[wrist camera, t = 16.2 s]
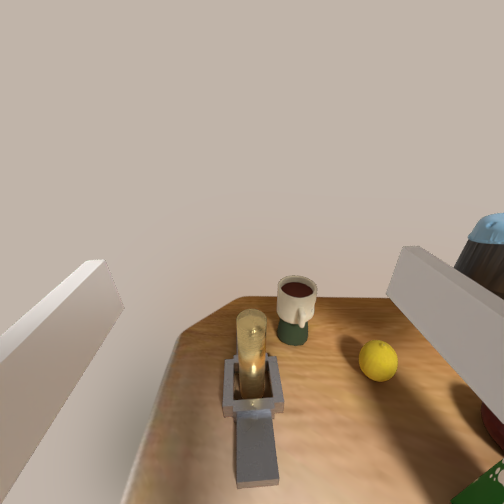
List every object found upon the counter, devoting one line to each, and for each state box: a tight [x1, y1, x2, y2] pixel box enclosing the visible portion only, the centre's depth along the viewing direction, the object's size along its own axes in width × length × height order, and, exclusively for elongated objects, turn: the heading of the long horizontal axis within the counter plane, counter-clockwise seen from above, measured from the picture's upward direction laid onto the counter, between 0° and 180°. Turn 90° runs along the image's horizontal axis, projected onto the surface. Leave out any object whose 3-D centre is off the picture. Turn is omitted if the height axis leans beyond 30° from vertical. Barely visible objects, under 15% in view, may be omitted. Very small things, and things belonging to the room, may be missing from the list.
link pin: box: [236, 309, 267, 400], centre depth 33 cm, size 4×4×16 cm
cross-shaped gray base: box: [223, 342, 284, 489], centre depth 36 cm, size 9×23×3 cm, turn 3°
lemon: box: [359, 340, 398, 382], centre depth 37 cm, size 6×6×8 cm
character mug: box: [277, 275, 317, 346], centre depth 43 cm, size 11×7×13 cm, turn 3°
